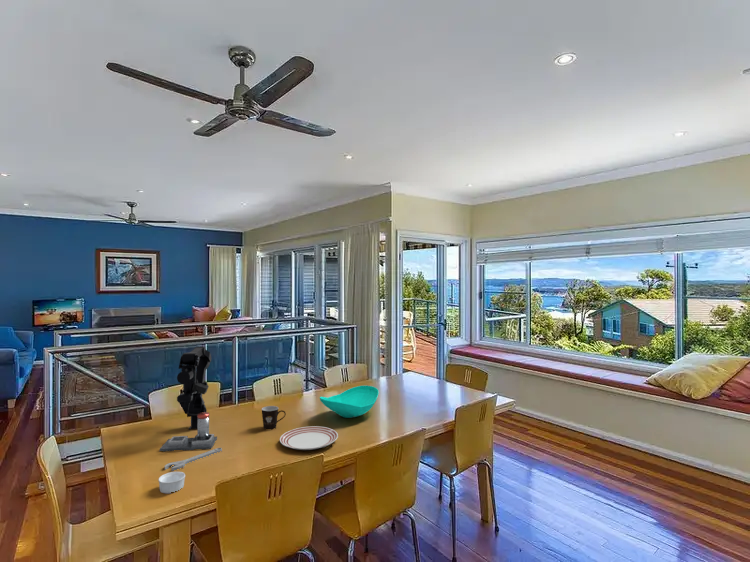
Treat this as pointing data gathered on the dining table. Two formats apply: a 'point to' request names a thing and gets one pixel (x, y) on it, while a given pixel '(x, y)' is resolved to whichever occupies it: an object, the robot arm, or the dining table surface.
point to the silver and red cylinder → (203, 426)
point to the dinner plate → (309, 438)
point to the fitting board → (188, 443)
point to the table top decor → (352, 401)
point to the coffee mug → (270, 416)
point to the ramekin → (171, 482)
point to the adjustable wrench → (190, 459)
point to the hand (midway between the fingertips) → (189, 410)
